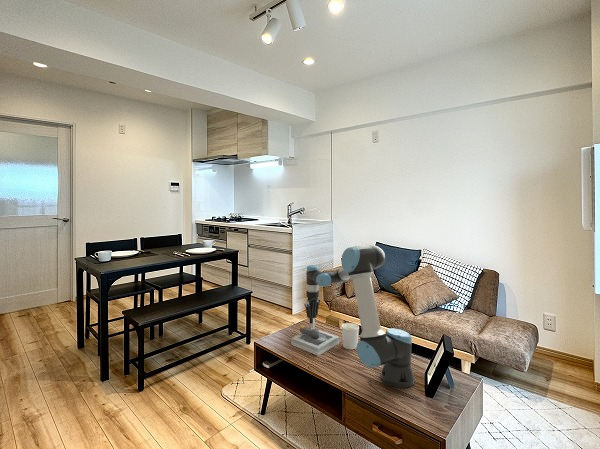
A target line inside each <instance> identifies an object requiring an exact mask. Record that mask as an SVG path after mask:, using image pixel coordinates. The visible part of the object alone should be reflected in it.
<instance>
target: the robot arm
mask: <svg viewBox="0 0 600 449" xmlns="http://www.w3.org/2000/svg"><path fill="white" fill-rule="evenodd" d="M340 259H341V260H340V261H341V262H340V264H341V267H340V268H338V269H336V270H329V271H320V267H319V266H318V265H317V264H316V265H315V264H309V265H307V267H306V273H305V274H306V275H305V276H306V298H307V300H306V303H304V307H305V311H306V318H308V319H309V329H311V328H312V329H314V328H315V329H316V327H315V326H316V318H317V316H318V314H319V308H320V303H321V299H319V294H320V287H323V288H327V287H329V286H330V285H333V284H339V283H342V284H343V283H347V282H348V281H350V279H351V280H352V284H353V289H354V294H355V295H354V296H355V300H356V306H357V310H358V318H359V322H360V323H359V324H360V327H361V333H360V335H359V340H358V343H357V346H356V349H355V350H356V354H357V356H358V358H359V360H360V361H361V363H362V364H363V366H365V367H367V368H371V369H372V368H376V367H377V368H378V367H381V366H382V369H381V372H380V378H381V380H382V381H383V382H384V383H385V384H387V385H389V386H390V387H394V388H398V389H399V388H400V389H406V388H409V387H410V388H411V387H412V386H413V385H415V375H414V370H413V368H412V367H413V366H412V344H413V342H412V340H413V339H412V335H411V334H410V333H409V332H407V331H405V330H403V329H399V328H392V327H391V328H387V329H386V330H385V331H384V330H382V327H381V323H380V322H381V321H380V317H379V312H378V307H377V301H376V297H375V292H374V286H373V281H372V275H373V274H374V270H376V269H378V268H381V267H382V266H383V265H384V264H385V261H386V255H385V251H384V250H383V249H382V248H380V247H379V246H377V245H359V246H358V245H355V246H351V247H347V248H346V249H344V250H343V252H342V254H341V258H340Z"/></svg>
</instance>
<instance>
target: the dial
mask: <svg viewBox="0 0 600 449" xmlns="http://www.w3.org/2000/svg"><path fill="white" fill-rule="evenodd" d="M319 330H320V329H318V328H315V329H311V328H310V327H307V326H306V325H305V324H301V325H299V332H300V334H301V333H304V334H306V335H305V337H304V341H307V342H309V343H312V344H315V345H320V344H322V343H323V342H325V341H326V336H325V335H323V334H321V333H319Z"/></svg>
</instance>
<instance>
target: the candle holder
mask: <svg viewBox="0 0 600 449" xmlns="http://www.w3.org/2000/svg"><path fill="white" fill-rule="evenodd" d="M341 330H342V334H341V336H342V346H343V348H345V349H346V350H357V349H356V346H357V343H358V342H359V333H360V326H359V324H356V323H353V322H345V323H343V324H342V325H341Z"/></svg>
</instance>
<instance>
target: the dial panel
mask: <svg viewBox="0 0 600 449" xmlns="http://www.w3.org/2000/svg"><path fill="white" fill-rule="evenodd" d="M310 329H312V328H310ZM314 329H316V327H315V328H314ZM319 333H321V334H323V335H325V336H326V341H325V342H323V343H322V344H320V345H315V344H312V343H309V342H307V341H304V337H305V335H306V334H304V333H301V332H300V333H299V334H296V335H294V336H293V337H291V338H290V341H291V342H290V343H291V344H290V345H291V346H294V347H295V348H298V349H301V350H304V351H305V352H308V353H311V354H313V355H316V356H321V355H323V354H324V353H325V352H327V351H329V350H331V349H332V348H334V347H335V346H337V345H339V344H340V336H339V335H336V334H332V333H330V332H326V331H323V330H320V329H319Z"/></svg>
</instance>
